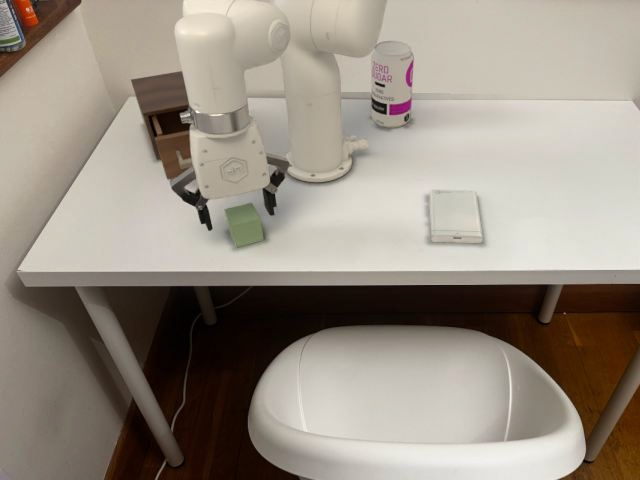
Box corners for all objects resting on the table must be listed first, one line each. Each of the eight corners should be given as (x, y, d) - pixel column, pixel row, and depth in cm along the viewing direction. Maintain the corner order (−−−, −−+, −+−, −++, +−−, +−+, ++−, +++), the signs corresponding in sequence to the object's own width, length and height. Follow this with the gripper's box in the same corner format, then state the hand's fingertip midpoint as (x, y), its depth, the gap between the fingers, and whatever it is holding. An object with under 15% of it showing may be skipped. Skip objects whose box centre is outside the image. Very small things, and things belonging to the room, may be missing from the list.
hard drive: (429, 189, 98) (432, 234, 89) (476, 190, 98) (483, 235, 89) (429, 197, 99) (431, 242, 91) (475, 198, 99) (482, 243, 91)
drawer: (237, 179, 101) (230, 140, 95) (172, 194, 97) (160, 154, 92) (213, 131, 112) (205, 94, 107) (154, 143, 109) (143, 105, 103)
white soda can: (412, 112, 121) (416, 41, 111) (407, 131, 115) (410, 58, 105) (375, 108, 122) (376, 37, 112) (368, 127, 116) (367, 54, 106)
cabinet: (223, 146, 110) (213, 99, 104) (156, 160, 106) (142, 112, 100) (206, 112, 120) (196, 68, 113) (144, 124, 116) (130, 79, 109)
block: (256, 224, 93) (252, 202, 90) (264, 240, 90) (260, 217, 87) (229, 231, 92) (224, 209, 89) (236, 247, 89) (231, 225, 86)
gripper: (159, 139, 71) (188, 246, 82) (291, 115, 76) (300, 218, 88) (149, 114, 76) (178, 218, 87) (274, 93, 81) (285, 193, 93)
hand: (239, 218), depth 88 cm, fingers open, 9 cm apart
